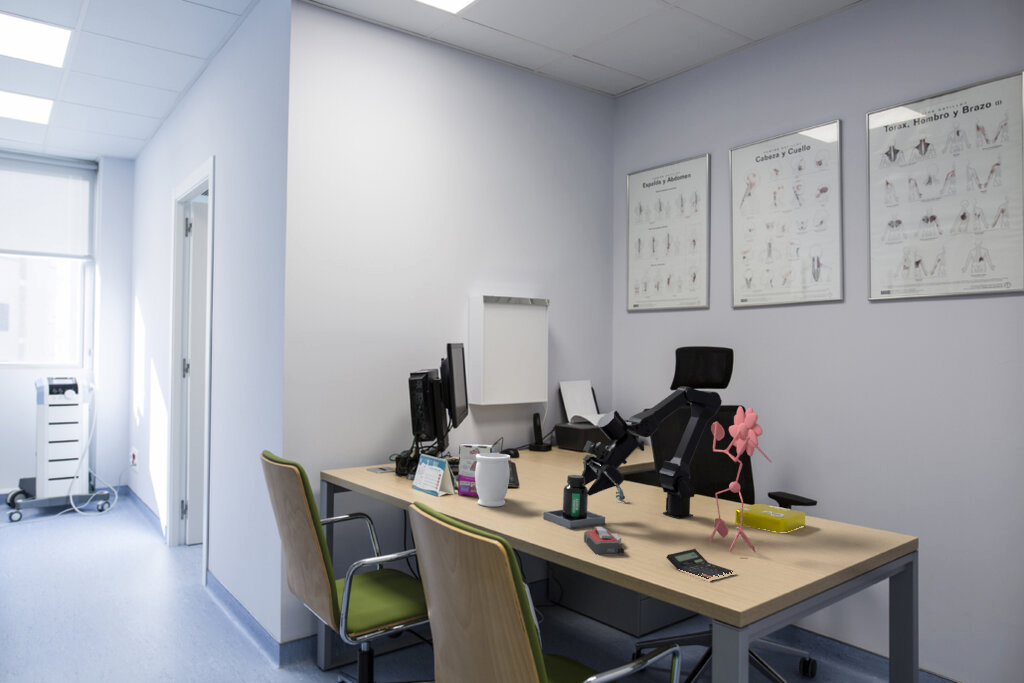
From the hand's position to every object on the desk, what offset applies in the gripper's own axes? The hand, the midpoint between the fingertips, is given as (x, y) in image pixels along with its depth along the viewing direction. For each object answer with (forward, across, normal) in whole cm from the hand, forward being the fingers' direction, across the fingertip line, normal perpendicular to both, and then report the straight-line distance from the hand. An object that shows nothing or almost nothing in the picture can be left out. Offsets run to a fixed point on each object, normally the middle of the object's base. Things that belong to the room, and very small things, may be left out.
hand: (582, 490), depth 184 cm
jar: (+21, -23, -9) cm, 32 cm away
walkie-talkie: (+8, +22, +5) cm, 23 cm away
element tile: (-31, +9, +45) cm, 55 cm away
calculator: (-2, +44, +15) cm, 46 cm away
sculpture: (-8, -23, +22) cm, 33 cm away
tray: (+8, 0, +4) cm, 9 cm away
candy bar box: (+23, -36, -11) cm, 44 cm away
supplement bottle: (+7, 0, +4) cm, 8 cm away
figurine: (-17, +28, +30) cm, 44 cm away
